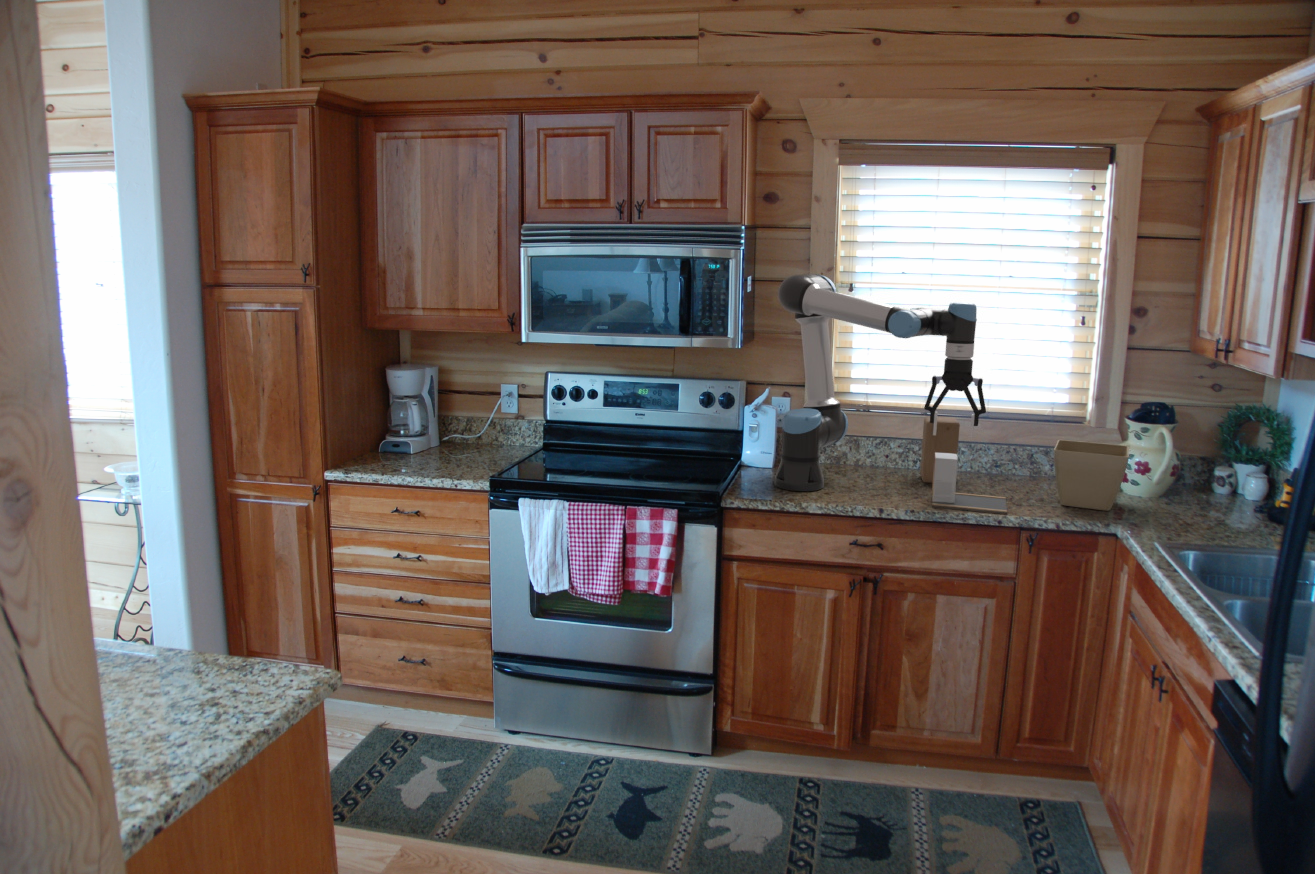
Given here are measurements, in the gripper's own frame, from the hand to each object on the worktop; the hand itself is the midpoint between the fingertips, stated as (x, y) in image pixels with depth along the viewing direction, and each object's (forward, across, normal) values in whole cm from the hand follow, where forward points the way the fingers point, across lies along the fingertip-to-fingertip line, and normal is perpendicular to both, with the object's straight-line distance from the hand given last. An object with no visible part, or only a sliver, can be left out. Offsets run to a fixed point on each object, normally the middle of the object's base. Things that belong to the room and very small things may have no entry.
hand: (952, 435), depth 255 cm
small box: (+19, -1, 0) cm, 19 cm away
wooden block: (+20, -4, +26) cm, 33 cm away
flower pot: (+20, +38, +13) cm, 45 cm away
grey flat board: (+20, +6, 0) cm, 20 cm away
